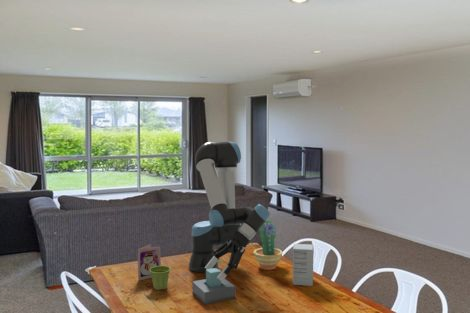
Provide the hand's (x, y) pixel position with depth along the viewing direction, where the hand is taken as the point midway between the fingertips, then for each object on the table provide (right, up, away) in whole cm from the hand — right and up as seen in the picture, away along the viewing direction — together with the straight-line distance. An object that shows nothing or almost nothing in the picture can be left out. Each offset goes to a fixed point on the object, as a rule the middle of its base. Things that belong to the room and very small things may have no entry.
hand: (212, 274), depth 181 cm
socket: (0, -9, +1) cm, 9 cm away
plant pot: (-24, -9, +11) cm, 28 cm away
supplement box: (+41, -8, +16) cm, 45 cm away
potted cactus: (+27, -7, +38) cm, 47 cm away
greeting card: (-33, -8, +25) cm, 42 cm away
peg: (0, -8, +1) cm, 8 cm away
